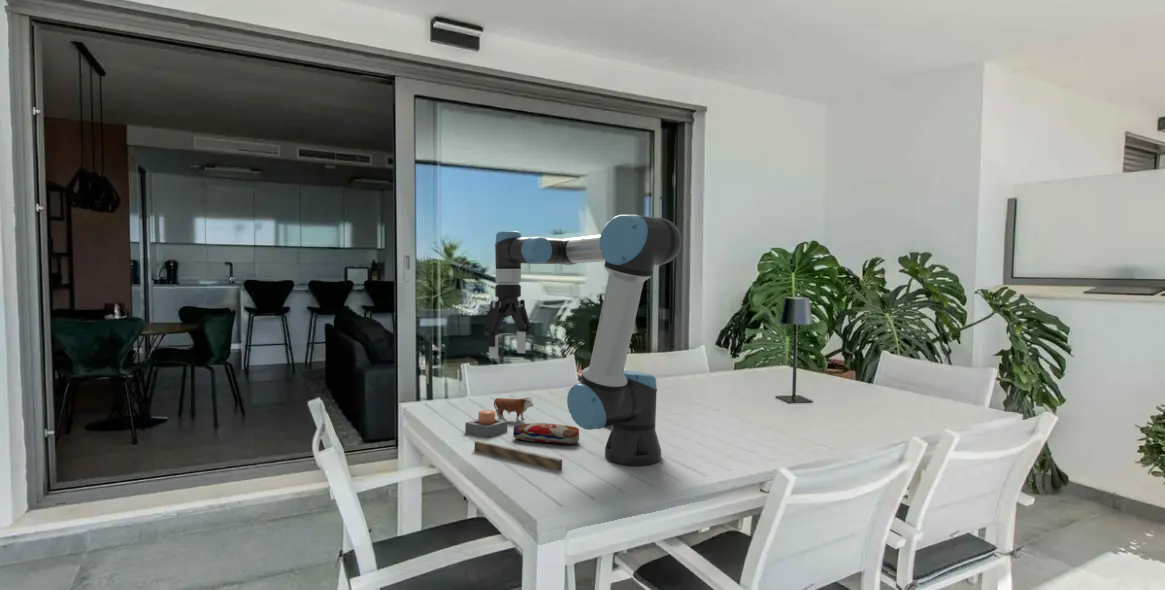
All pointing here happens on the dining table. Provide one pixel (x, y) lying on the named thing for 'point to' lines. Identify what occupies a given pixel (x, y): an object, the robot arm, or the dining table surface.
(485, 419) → the button
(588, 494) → the dining table surface
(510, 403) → the bull figurine
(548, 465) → the rail
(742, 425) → the dining table surface
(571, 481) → the dining table surface
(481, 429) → the button housing
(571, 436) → the pencil case
